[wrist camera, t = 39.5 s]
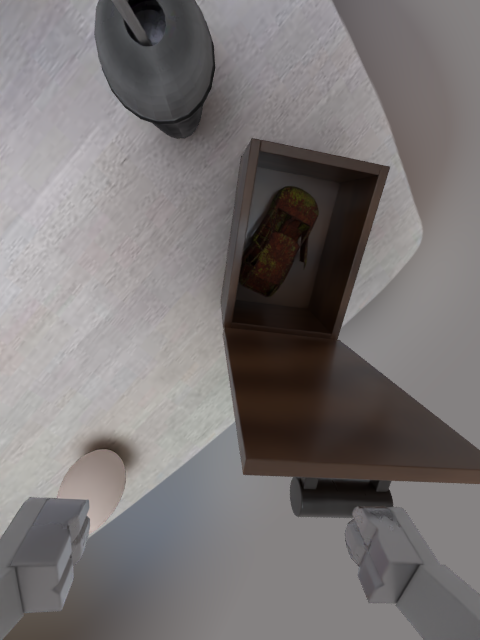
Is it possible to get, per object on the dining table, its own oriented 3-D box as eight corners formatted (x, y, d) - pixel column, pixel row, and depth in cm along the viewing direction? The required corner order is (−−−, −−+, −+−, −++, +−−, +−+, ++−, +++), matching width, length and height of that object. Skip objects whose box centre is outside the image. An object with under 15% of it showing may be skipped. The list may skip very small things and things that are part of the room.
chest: (241, 156, 31) (251, 137, 23) (345, 177, 33) (390, 166, 24) (220, 302, 37) (222, 329, 28) (310, 313, 38) (336, 341, 30)
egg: (114, 482, 46) (85, 563, 35) (69, 459, 44) (22, 540, 33) (144, 451, 44) (122, 527, 34) (98, 426, 42) (59, 500, 31)
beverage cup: (225, 92, 29) (249, -120, 10) (198, 166, 31) (179, 104, 12) (154, 51, 27) (27, -292, 8) (131, 133, 29) (-9, 2, 11)
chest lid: (246, 459, 11) (228, 553, 13) (507, 471, 13) (468, 553, 14) (223, 326, 28) (217, 373, 29) (339, 339, 30) (328, 383, 31)
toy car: (276, 299, 36) (286, 312, 32) (227, 275, 35) (229, 285, 30) (328, 208, 33) (346, 208, 28) (276, 177, 31) (287, 172, 27)
